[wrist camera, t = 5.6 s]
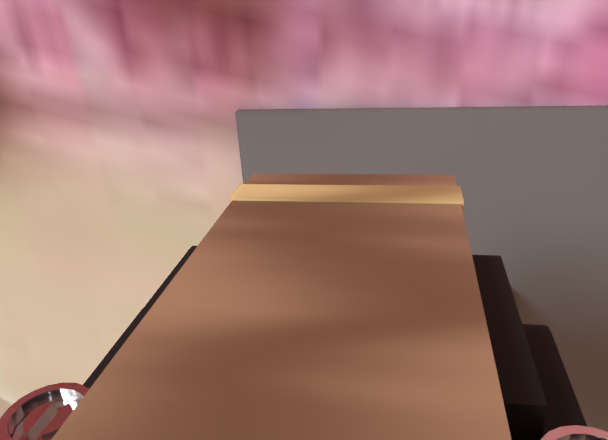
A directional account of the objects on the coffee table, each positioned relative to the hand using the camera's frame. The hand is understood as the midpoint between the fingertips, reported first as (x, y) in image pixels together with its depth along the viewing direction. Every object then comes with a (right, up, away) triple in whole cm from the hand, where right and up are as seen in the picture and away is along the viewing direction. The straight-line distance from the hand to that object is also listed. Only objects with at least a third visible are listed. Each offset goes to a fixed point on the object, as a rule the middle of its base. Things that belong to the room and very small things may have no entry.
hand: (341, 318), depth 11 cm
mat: (+5, -1, +14) cm, 15 cm away
